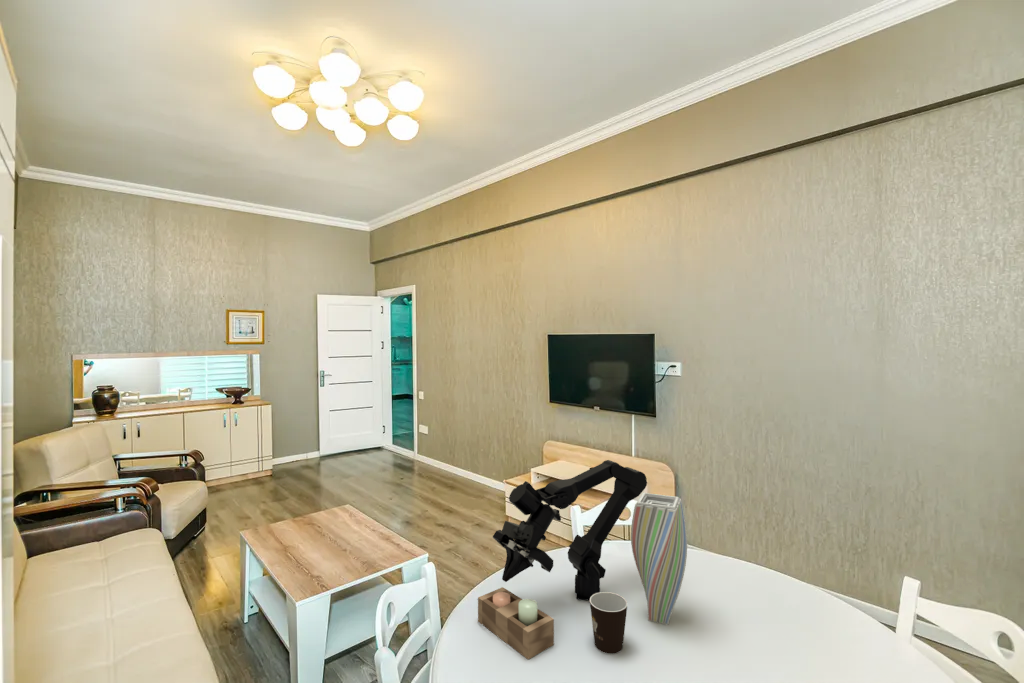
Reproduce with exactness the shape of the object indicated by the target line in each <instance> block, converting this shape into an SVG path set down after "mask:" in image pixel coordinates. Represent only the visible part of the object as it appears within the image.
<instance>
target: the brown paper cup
mask: <svg viewBox="0 0 1024 683" xmlns="http://www.w3.org/2000/svg"><path fill="white" fill-rule="evenodd" d="M589 606H590V607H589V608H590V616H591V624H592V632H593V640H594V646H595V648H596V649H597V650H598V651H600V652H602V653H604V654H610V655H611V654H612V655H614V654H618V653H620V652H621V651H622V650H623V648H624V647H623V646H624V638H625V629H626V622H627V610H628V601H627V599H626V598H625V597H623V596H622V595H620V594H618V593H616V592H610V591H602V592H601V591H600V592H599V593H594V594H593V595H592V596H591V597H590V601H589Z"/></svg>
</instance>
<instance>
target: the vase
mask: <svg viewBox="0 0 1024 683" xmlns="http://www.w3.org/2000/svg"><path fill="white" fill-rule="evenodd" d="M686 526H687V525H686V520H685V512H684V507H683V502H682V498H680V497H679V496H674V495H673V496H672V495H667V494H666V495H664V494H656V493H649V492H642V493H641V494H640V496H639V499H638V500H637V501H636V503H635V504H634V509H633V514H632V519H631V527H630V528H631V529H630V531H631V532H630V544H631V550H632V551H631V552H632V555H633V559H634V562H635V566H636V569H637V572H638V576H639V578H640V580H641V584H642V587H643V589H644V593H645V597H646V598H645V599H646V603H647V605H646V606H647V621H648V622H649V621H650V622H653V623H657V624H663V625H666V626H669V623H670V619H671V617H672V613H673V612H674V611H673V610H674V608H675V605H676V603H677V600H678V597H679V594H680V591H681V588H682V585H683V580H684V576H685V571H686V566H687V557H688V536H687V534H688V533H687V527H686Z"/></svg>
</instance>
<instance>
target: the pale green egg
mask: <svg viewBox="0 0 1024 683" xmlns="http://www.w3.org/2000/svg"><path fill="white" fill-rule="evenodd" d="M537 609H538V602H537V600H534V599H532V598H524V599H523V600H521V601H520V602H519V621H520V622H521V623H523V624H524V625H526V626H529V625H531V624H533V623H535V622H537Z"/></svg>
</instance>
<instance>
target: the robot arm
mask: <svg viewBox="0 0 1024 683" xmlns="http://www.w3.org/2000/svg"><path fill="white" fill-rule="evenodd" d="M612 478H614V482H613V483H614V485H613V487H614V488H613V492H612V494H611V495H610V497H609V498H608V500H607V501H606V503H605V505H604V506H603V508H602V510H601V511H600V513H599V514H598V516H597V517H596V518H595V520H594V522H593V523H592V525H591V527H590V528H589V530H588V531H587V533H585V534H584V535H582V536H580V535H579V534H577V535H575V537H574V539H573V541H572V542H571V543H570V544H569V545H568V547H569V549H568V551H567V559H568V561H569V562H570V563H571V564H572V566H573V569H575V570H576V574H575V576H574V594H576V596H575V598H576V600H580V601H581V600H582V601H589V602H590V597H591V596H592V595H593V594H594V593H599V592H601V579H603V578H604V577H605V574H606V571H607V569H606V568H604V567H603V566H602V565H601V564H600V563H599V562H600V560H601V558H602V548H603V547H602V546H603V543H605V540H607V538H608V536H609V534H610V532H611V531H612V529H613V528H614V526H615V525H616V523H617V521H618V520H619V518H620V517H621V515H622V513H623V512H624V510H625V509H626V507H627V505H628V503H630V502H631V501H633V500H634V499H636V498H638V497H640V496H641V495H642V494H643V492H644V490H645V489H646V488H647V485H648V481H647V476H646V474H645V473H644V472H642V471H639V470H637V469H634V468H632V467H628V466H625V467H624V466H622V465H621V464H620V463H618V462H615V461H613V460H610V459H605V460H604V461H602V463H599V464H597V465H596V466H594V467H592V468H590V469H588V470H586V471H583V472H581V473H579V474H577V475H575V476H573V477H572V478H566V479H565V478H564V479H557V480H554V481H551V482H549V483H547V484H546V485H545V486H544V487H541V488H537V489H535V488H534V487H533V484H531V483H530V482H528V481H524V482H523V483H522V484H519V485H518V486H516V487H515V488H513V489H512V491H511V492H510V493H509V498H508V500H509V502H510V503H511V504H512V505H513V506H514V507H515V508H516V509H518V510H519V512H520V513H522V514H523V515H524V516H528V518H527V519H526V521H525V520H521V521H520V522H519V524H517V523H514V522H512V521H508V520H504V523H503V527H502V529H498V530H495V532H494V533H493V535H492V538H493V539H494V541H495V542H497V543H498V544H499V545H500V546H501V547H502V548H503V549H504V550H505V552H506V559H505V560H506V561H505V565H504V568H503V573H502V581H503V582H505V583H507V582H508V581H510V580H511V579H513V578H514V577H516V576H517V575H518V574H520V573H522V572H523V571H525V570H528V569H529V568H533V567H534V564H533V563H534V562H535V561H536V562H538V563H539V564H540V567H541V569H543V570H544V571H546V572H548V573H551V571H552V569H553V567H554V559H553V558H552V557H550V555H549V554H548V553H547V552H546V551H544V550H543V549H540V548H539V547H538V546H539V545H540V542H541V541H546V539H547V536H546V535H545V534H546V532H547V530H548V528H549V527H550V525H551V524H552V522H553V520H555V521H558V522H561V521H562V516H561V515H560V510H564V509H566V508H567V509H568V507H569V506H570V505H572V504H574V502H576V500H577V499H578V497H579V496H580V495H581V494H582V493H585V492H587V491H589V490H590V489H593V488H595V487H596V486H598V485H600V484H602V483H604V482H607V481H609V480H610V479H612ZM543 502H544V503H543ZM552 506H553V507H555V508H553V507H552Z"/></svg>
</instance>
